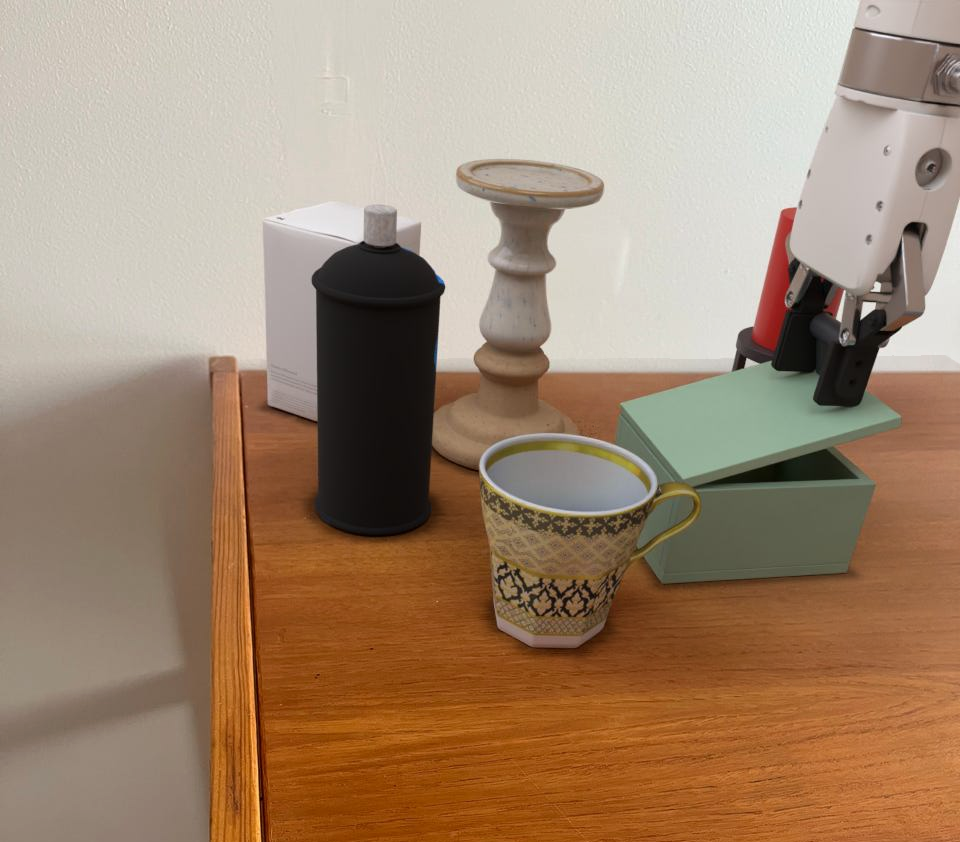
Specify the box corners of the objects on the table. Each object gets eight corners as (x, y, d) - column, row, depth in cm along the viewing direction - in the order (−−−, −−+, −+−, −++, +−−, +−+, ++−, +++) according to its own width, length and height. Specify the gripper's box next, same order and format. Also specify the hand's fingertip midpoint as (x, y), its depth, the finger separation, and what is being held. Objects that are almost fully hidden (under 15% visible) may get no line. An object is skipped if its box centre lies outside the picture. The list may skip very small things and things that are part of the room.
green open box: (770, 493, 80) (793, 410, 76) (846, 573, 70) (876, 483, 67) (604, 500, 76) (619, 413, 72) (661, 584, 67) (681, 491, 63)
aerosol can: (369, 550, 68) (376, 234, 56) (289, 503, 72) (281, 200, 61) (455, 512, 73) (478, 215, 61) (376, 470, 77) (383, 186, 66)
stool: (794, 387, 99) (811, 325, 95) (841, 426, 92) (861, 361, 88) (707, 388, 97) (721, 325, 93) (749, 428, 90) (765, 361, 86)
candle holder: (571, 487, 78) (613, 205, 66) (411, 463, 79) (425, 181, 67) (585, 423, 88) (624, 168, 76) (443, 402, 89) (460, 148, 77)
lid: (812, 359, 73) (813, 292, 70) (901, 427, 64) (907, 354, 61) (620, 413, 72) (613, 347, 69) (683, 490, 63) (678, 418, 60)
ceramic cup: (472, 666, 58) (487, 510, 53) (460, 573, 66) (472, 428, 61) (694, 670, 60) (732, 518, 54) (656, 578, 68) (686, 437, 62)
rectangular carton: (354, 437, 82) (356, 241, 73) (265, 407, 85) (257, 216, 76) (416, 402, 88) (425, 219, 80) (331, 376, 92) (331, 197, 83)
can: (805, 329, 94) (837, 208, 88) (841, 356, 89) (878, 228, 83) (738, 329, 92) (767, 205, 86) (771, 356, 87) (804, 227, 81)
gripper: (1068, 108, 52) (936, 442, 62) (886, 62, 65) (802, 343, 76) (940, 93, 50) (826, 440, 60) (780, 50, 63) (709, 340, 74)
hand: (814, 383), depth 68 cm, fingers closed on lid, 5 cm apart
